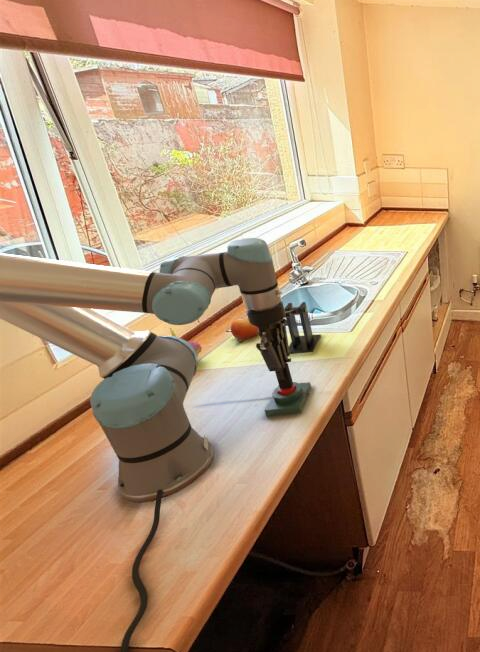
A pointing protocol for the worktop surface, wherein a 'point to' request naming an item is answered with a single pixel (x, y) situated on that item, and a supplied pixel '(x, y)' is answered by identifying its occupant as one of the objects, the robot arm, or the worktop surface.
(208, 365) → the worktop surface
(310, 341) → the bracket
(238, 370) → the worktop surface
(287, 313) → the lever
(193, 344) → the cupcake
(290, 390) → the button
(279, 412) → the button box
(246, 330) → the fruit
